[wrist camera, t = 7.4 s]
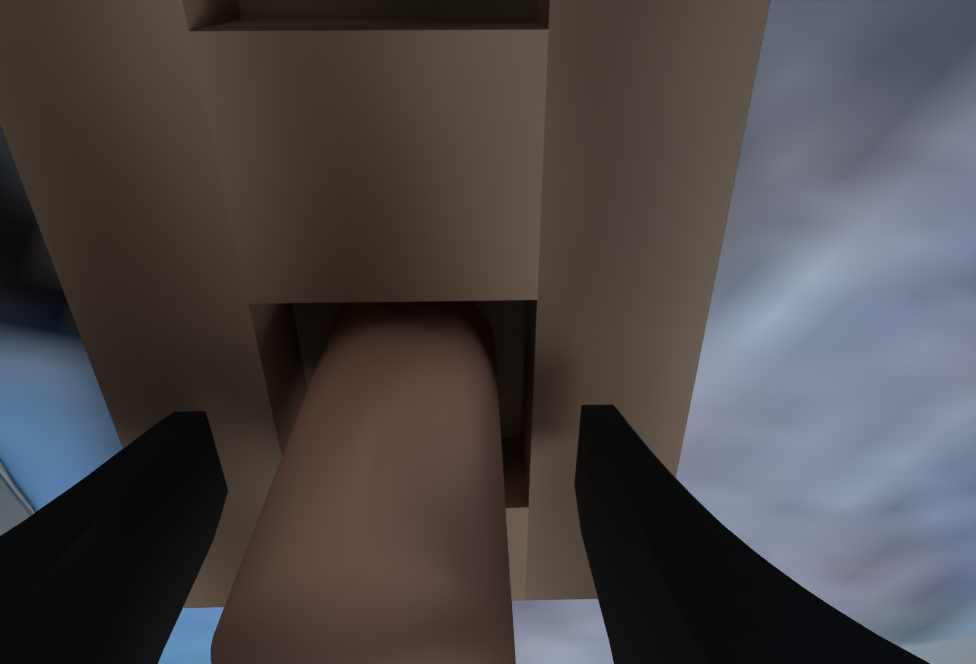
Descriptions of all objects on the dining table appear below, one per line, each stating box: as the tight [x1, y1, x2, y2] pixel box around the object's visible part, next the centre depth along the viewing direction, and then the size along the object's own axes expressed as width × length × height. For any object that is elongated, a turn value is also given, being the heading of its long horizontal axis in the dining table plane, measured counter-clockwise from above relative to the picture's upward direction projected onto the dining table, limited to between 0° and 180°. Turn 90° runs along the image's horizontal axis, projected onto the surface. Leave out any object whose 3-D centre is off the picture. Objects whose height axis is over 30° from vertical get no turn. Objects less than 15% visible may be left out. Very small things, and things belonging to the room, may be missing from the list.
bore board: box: [0, 0, 770, 608], centre depth 12 cm, size 12×22×3 cm, turn 0°
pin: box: [211, 301, 516, 664], centre depth 12 cm, size 4×4×8 cm
